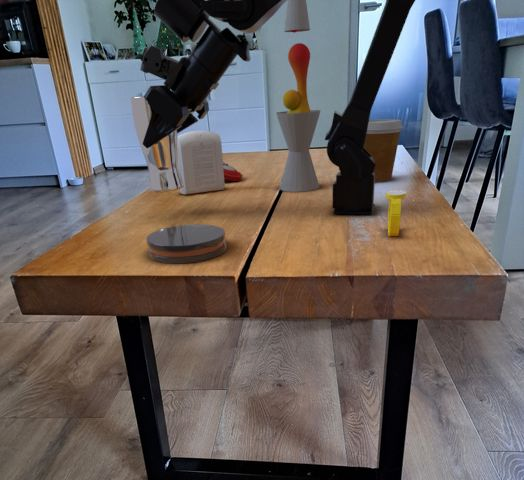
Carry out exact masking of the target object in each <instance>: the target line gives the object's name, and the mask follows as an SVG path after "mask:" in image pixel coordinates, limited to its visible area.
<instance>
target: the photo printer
mask: <svg viewBox="0 0 524 480" xmlns="http://www.w3.org/2000/svg"><path fill="white" fill-rule="evenodd" d="M222 146H223V145H222V139H221V136H220V134H219V133H217V132H214V131H208V130H192V131H188V132H187V131H186V132H185V133H182V134H180V135H177V154H178V167H179V171H180V175H181V177H182V180H183V183H184V187H183V188H180V189H179V192H180V194H181V195H192V194H199V193H200V194H201V193H207V192H208V193H209V192H215V191H224V190H225V188H226V186H225V185H226V184H225V179H224V171H223V162H224V159H223V147H222Z"/></svg>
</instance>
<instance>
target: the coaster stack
mask: <svg viewBox="0 0 524 480" xmlns="http://www.w3.org/2000/svg"><path fill="white" fill-rule="evenodd" d="M225 239H226V231H225V229H224V228H223V227H220V226H217V225H213V224H202V223H200V224H198V223H197V224H193V223H192V224H180V225H173V226H169V227H165V228H162V229H161V228H160V229H158V230H156V231H152V232H151V233H149V234H148V235H147V236H146V244H147V246H148V256H149V258H150V259H151V260H153V261H155V262H158V263H162V264H163V263H164V264H191V263H197V262H202V261H207V260H210V259H214V258H216V257H219V256H221V255H222V254H224V253H225V252H226V250H227V242H226V240H225Z"/></svg>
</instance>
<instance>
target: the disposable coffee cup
mask: <svg viewBox="0 0 524 480" xmlns="http://www.w3.org/2000/svg"><path fill="white" fill-rule="evenodd" d="M403 128H404V126H403V124H402V120H401V119H396V118H395V119H394V118H393V119H392V118H390V119H389V118H386V119H369V123H368V128H367V134H366V138H365V143H364V149H365V150H366V151H367V152H368V153H369V154H370V155H371V156H372V157H373V160H374V162H375V168H374V171H373V172H375V183H384V182H388V181H391V180H392V177H393V172H394V167H395V162H396V155H397V150H398V146H399V140H400V136H401V132H402V129H403Z"/></svg>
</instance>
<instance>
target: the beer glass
mask: <svg viewBox="0 0 524 480" xmlns="http://www.w3.org/2000/svg"><path fill="white" fill-rule="evenodd" d="M130 103H131V112H132V118H133V124H134V129H135V133H136V136H137V139H138V142H139V146H140V149H141V151H142V154H143V156H144V160H145V162H146V165H147V169H148V174H149V190H150V192H152V193H167V192H172V191H178V190H180V188H183V187H184V183H183V180H182V177H181V175H180V171H179V167H178V154H177V137H178V134H177V130H176V131H174V132H173V133H171V134H169V135H168V136H166V137H165V138H163V139H162V140H160V141H159V142H157V143H156V144H154V145H153V146H151V147H149V148H146V147H145V146H144V145H143V140H144V137H145V134H146V131H147V128H148V125H149V122H150V118H151V109H150V106H149V104H148V102H147V101H146V100H145V98H144V95H138V96H131V97H130Z"/></svg>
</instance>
